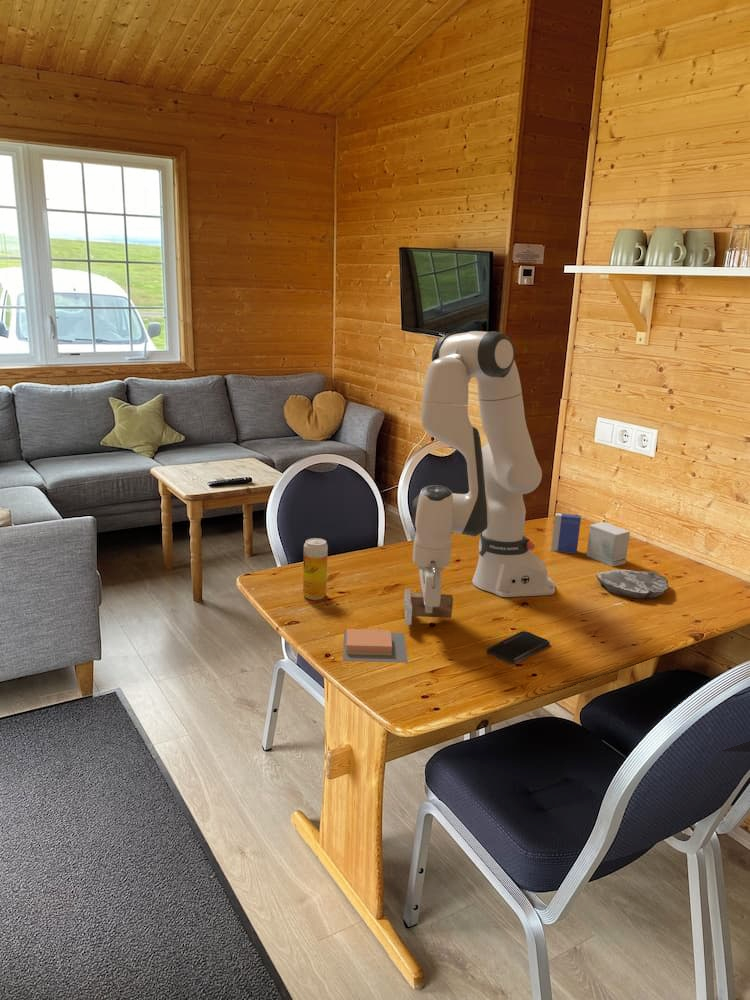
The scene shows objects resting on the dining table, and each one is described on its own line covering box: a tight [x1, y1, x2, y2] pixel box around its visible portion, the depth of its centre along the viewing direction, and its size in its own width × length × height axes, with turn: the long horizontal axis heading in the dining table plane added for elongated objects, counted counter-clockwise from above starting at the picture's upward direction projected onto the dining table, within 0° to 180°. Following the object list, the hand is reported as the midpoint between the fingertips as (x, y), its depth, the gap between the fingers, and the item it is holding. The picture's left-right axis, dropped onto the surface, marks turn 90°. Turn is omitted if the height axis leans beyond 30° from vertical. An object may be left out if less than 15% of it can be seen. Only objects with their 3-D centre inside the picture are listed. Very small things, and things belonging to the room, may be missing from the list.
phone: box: [486, 630, 550, 665], centre depth 175 cm, size 8×1×15 cm
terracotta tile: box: [346, 628, 392, 655], centre depth 171 cm, size 2×8×10 cm
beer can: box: [302, 537, 329, 601], centre depth 196 cm, size 6×6×15 cm
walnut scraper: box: [403, 588, 454, 626], centre depth 184 cm, size 11×12×5 cm
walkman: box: [550, 512, 582, 554], centre depth 238 cm, size 8×3×12 cm, turn 75°
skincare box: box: [586, 521, 631, 568], centre depth 232 cm, size 10×6×10 cm, turn 33°
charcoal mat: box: [342, 630, 408, 663], centre depth 172 cm, size 14×14×1 cm
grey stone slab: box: [595, 569, 669, 599], centre depth 211 cm, size 20×17×3 cm
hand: (427, 608), depth 184 cm, fingers closed on walnut scraper, 2 cm apart
